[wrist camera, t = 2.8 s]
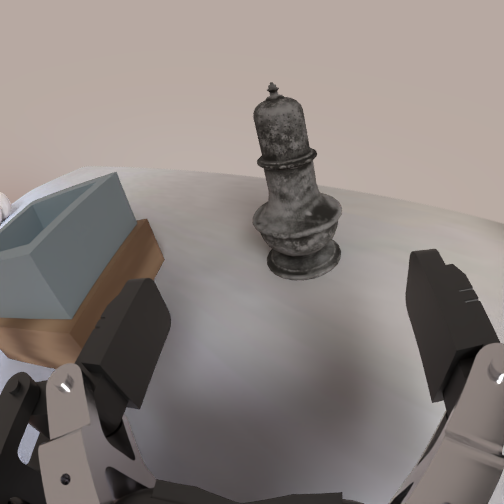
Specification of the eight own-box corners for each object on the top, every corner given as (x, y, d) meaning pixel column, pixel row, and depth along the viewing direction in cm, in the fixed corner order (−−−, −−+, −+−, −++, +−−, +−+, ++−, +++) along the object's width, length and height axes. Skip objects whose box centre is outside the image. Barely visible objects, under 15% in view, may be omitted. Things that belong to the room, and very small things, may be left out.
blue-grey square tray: (137, 223, 24) (116, 171, 21) (71, 319, 15) (29, 253, 13) (52, 241, 26) (32, 201, 23) (-10, 317, 17) (-41, 270, 15)
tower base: (166, 263, 26) (147, 218, 24) (110, 381, 17) (69, 333, 14) (71, 274, 29) (51, 238, 26) (11, 361, 19) (-21, 323, 17)
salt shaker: (267, 237, 25) (231, 87, 19) (341, 229, 24) (319, 72, 17) (258, 286, 21) (207, 99, 14) (348, 278, 19) (327, 78, 13)
